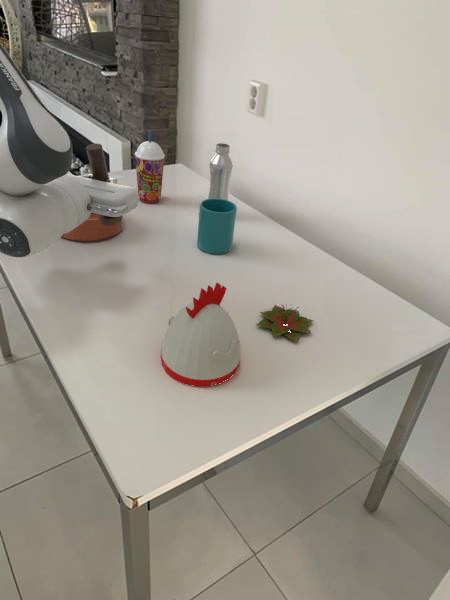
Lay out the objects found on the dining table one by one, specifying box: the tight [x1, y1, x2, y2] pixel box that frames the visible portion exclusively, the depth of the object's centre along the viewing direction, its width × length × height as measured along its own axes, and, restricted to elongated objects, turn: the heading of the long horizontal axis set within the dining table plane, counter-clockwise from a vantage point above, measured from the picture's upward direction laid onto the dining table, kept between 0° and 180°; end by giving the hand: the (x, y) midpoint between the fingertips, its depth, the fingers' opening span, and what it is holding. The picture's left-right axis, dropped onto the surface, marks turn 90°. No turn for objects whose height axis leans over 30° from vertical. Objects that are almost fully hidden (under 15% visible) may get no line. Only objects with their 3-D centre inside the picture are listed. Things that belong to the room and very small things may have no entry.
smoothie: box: [134, 130, 166, 204], centre depth 130 cm, size 8×8×20 cm
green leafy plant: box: [255, 303, 314, 344], centre depth 89 cm, size 12×12×5 cm
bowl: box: [61, 213, 124, 243], centre depth 116 cm, size 18×18×6 cm
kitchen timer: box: [160, 282, 241, 387], centre depth 76 cm, size 14×14×15 cm
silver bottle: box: [207, 142, 234, 201], centre depth 126 cm, size 6×7×20 cm
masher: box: [85, 143, 122, 225], centre depth 91 cm, size 5×5×16 cm
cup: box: [196, 198, 238, 255], centre depth 113 cm, size 9×12×11 cm
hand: (103, 179), depth 91 cm, fingers closed on masher, 3 cm apart
